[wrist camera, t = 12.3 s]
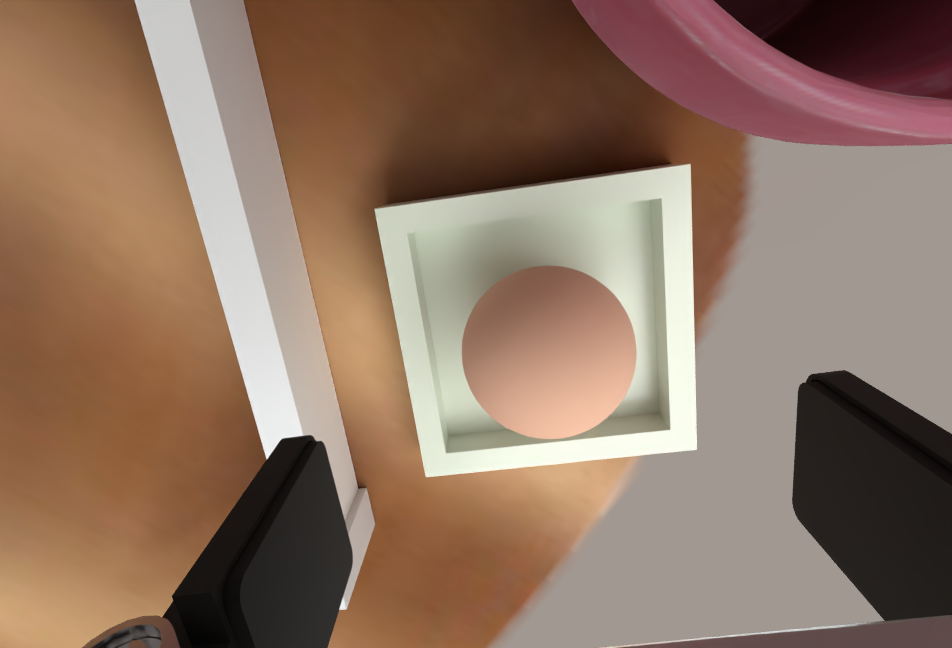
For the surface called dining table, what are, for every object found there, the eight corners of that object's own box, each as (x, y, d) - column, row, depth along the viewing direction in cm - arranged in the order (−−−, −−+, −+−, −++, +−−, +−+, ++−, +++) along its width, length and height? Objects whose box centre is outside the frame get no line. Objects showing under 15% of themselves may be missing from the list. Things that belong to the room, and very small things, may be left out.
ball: (456, 262, 21) (440, 302, 15) (610, 242, 20) (655, 275, 15) (477, 400, 22) (470, 483, 17) (619, 385, 22) (663, 464, 16)
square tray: (385, 204, 21) (374, 209, 19) (671, 164, 20) (690, 164, 18) (431, 452, 24) (426, 477, 22) (680, 425, 23) (696, 449, 21)
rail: (156, -118, 18) (31, -220, 13) (224, -131, 18) (123, -240, 13) (326, 529, 25) (286, 614, 20) (375, 524, 25) (346, 609, 20)
